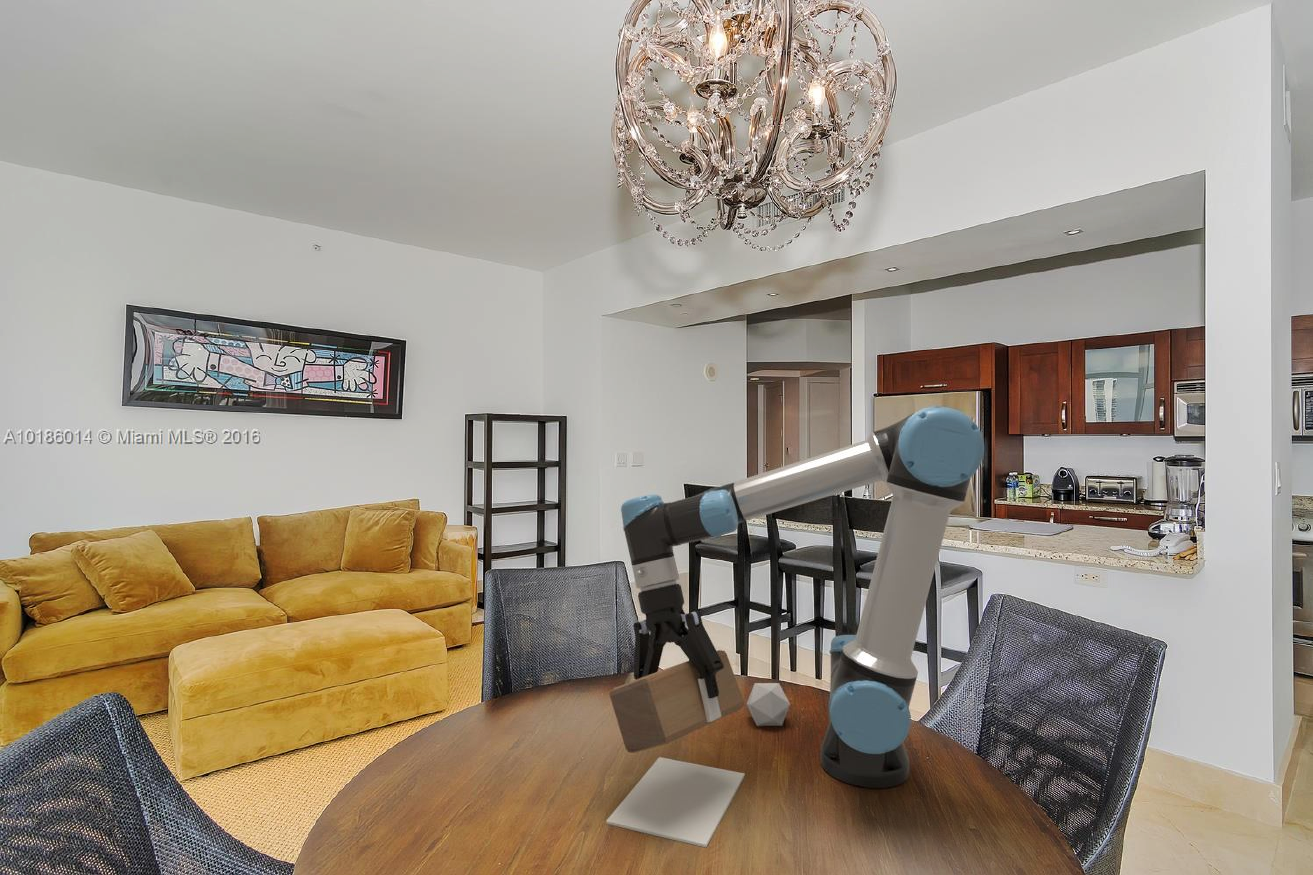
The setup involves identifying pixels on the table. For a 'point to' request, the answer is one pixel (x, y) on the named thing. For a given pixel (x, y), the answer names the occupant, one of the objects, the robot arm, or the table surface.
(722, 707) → the wooden block
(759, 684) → the die
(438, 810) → the table surface
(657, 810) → the white mat
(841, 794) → the table surface
